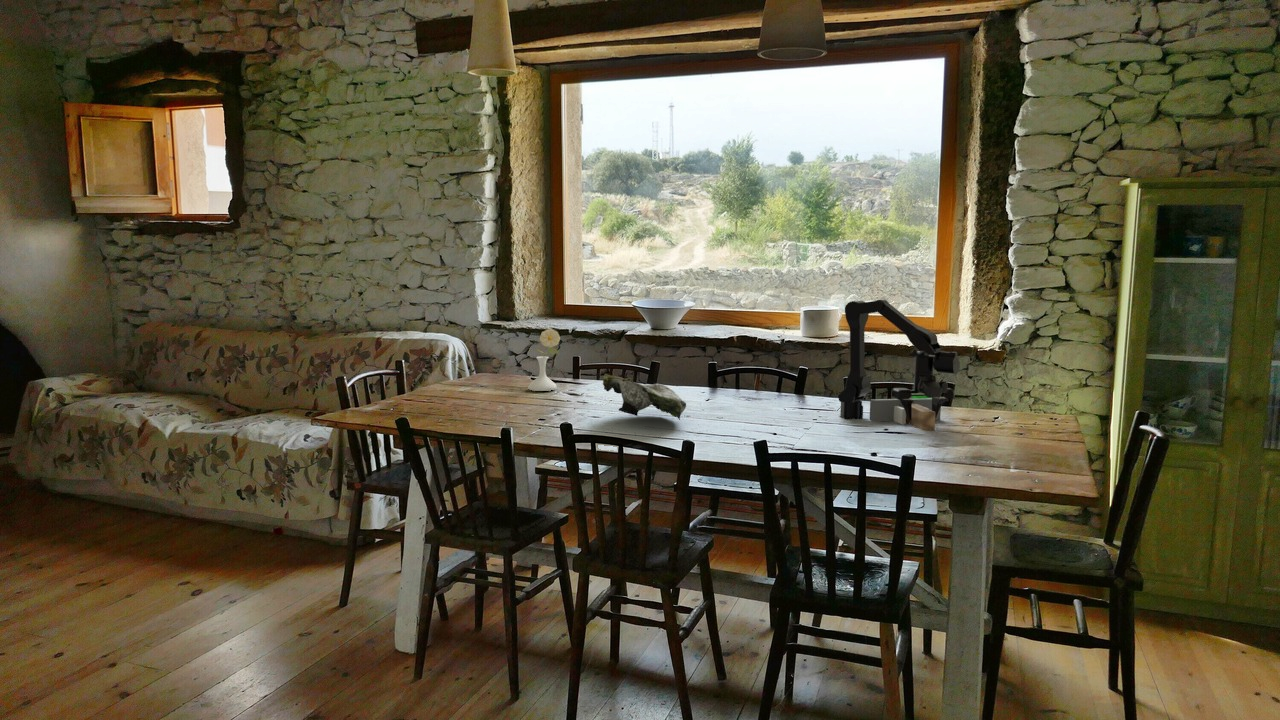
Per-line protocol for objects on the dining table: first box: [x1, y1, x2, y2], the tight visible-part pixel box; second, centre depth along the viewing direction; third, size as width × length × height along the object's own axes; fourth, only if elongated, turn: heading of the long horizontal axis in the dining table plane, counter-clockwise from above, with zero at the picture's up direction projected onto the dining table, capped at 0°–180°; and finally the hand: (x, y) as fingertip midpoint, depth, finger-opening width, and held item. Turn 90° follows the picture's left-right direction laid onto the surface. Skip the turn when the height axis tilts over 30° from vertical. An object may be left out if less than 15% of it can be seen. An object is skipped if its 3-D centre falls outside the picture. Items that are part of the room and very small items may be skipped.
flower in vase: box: [527, 328, 561, 392], centre depth 342 cm, size 13×11×25 cm
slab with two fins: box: [869, 397, 942, 425], centre depth 284 cm, size 24×8×7 cm, turn 99°
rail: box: [906, 404, 936, 431], centre depth 278 cm, size 4×16×6 cm, turn 3°
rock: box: [602, 373, 687, 421], centre depth 286 cm, size 29×30×15 cm
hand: (921, 419), depth 276 cm, fingers open, 8 cm apart
